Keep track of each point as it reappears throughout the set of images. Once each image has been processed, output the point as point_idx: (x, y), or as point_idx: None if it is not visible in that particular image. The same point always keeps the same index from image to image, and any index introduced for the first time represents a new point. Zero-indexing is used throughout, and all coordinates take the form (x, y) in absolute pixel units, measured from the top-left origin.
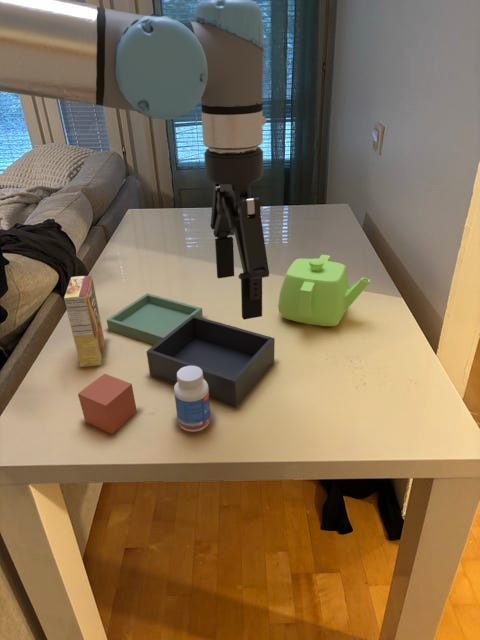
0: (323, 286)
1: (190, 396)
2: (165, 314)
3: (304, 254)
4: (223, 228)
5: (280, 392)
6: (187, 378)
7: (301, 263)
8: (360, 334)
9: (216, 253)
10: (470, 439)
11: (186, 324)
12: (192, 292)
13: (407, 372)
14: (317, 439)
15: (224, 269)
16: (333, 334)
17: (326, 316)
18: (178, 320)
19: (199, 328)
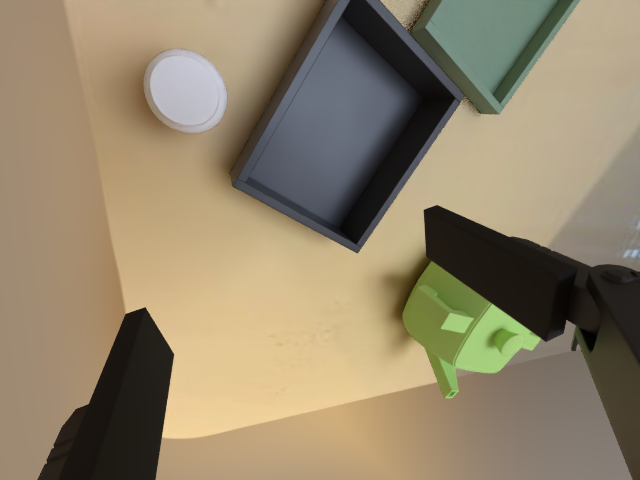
0: (452, 342)
1: (146, 92)
2: (514, 32)
3: None
4: (612, 359)
5: (266, 242)
6: (159, 85)
7: None
8: (381, 342)
9: (502, 242)
10: (177, 435)
11: (437, 81)
12: (564, 93)
13: (298, 386)
14: (161, 289)
15: (444, 241)
16: (388, 312)
17: (412, 317)
18: (486, 62)
19: (432, 109)
